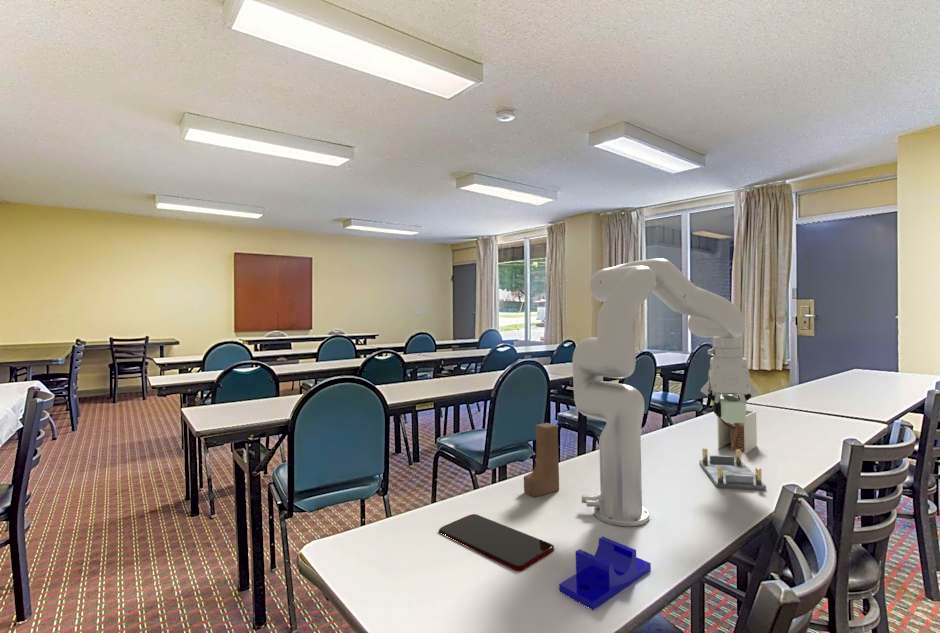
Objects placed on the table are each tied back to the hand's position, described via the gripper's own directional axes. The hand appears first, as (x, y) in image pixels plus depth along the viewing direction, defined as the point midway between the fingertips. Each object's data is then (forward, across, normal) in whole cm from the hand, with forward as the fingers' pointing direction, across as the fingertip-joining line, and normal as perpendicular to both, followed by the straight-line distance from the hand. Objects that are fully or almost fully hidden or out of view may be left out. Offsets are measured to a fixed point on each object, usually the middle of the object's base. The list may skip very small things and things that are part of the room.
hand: (729, 415), depth 138 cm
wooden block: (+18, -53, -20) cm, 59 cm away
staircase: (+18, +10, +30) cm, 37 cm away
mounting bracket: (+18, -37, -61) cm, 74 cm away
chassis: (+18, 0, 0) cm, 18 cm away
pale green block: (+1, 0, 0) cm, 1 cm away
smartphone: (+18, -61, -49) cm, 80 cm away
